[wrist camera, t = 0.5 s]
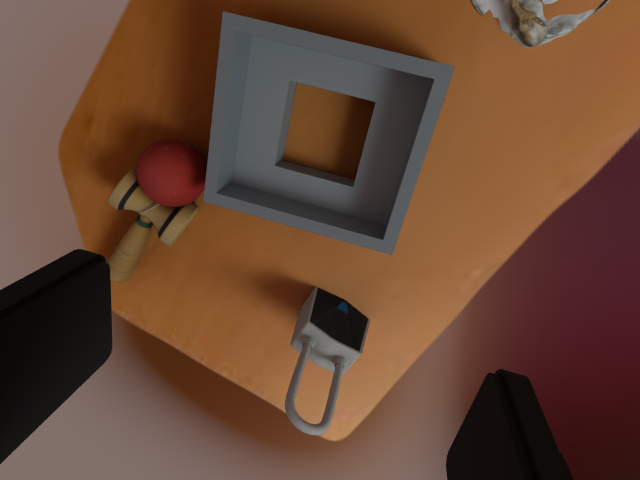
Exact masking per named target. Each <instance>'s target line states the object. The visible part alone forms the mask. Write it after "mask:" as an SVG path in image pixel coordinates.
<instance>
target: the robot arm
mask: <svg viewBox="0 0 640 480" xmlns="http://www.w3.org/2000/svg"><path fill="white" fill-rule="evenodd" d="M111 351H112V318H111V279H110V266H109V264H108V263H106V260H105V258H104V257H103V256H102V255H100V254H96V253H93V252H89V251H85V250H82V249H77V250H74V251H72V252H70V253H68V254H66V255H65V256H63V257H61V258H59V259H57V260H55V261H53V262H52V263H50V264H48V265H46V266H44V267H42V268H40V269H39V270H37V271H35V272H33V273H31V274H29V275H27V276H26V277H24V278H22V279H20V280H18V281H16V282H14V283H13V284H11V285H9V286H7V287H5V288H3V289H1V290H0V464H1V463H2V462H3V461H4V460H5V459H6V458H7V457H8V456H9V455H10V454H11V453H12V452H13V451H14V450H15V449H16V448H17V447H18V446H19V445H20V444H21V443H22V442H23V441H24V440H26V438H28V437H29V435H31V434H32V433H33V432H34V431H35V430H36V429H37V428H38V427H39V426H40V425H41V424H42V423H43V422H44V421H45V420H46V419H47V418H48V417H49V416H50V415H51V414H52V413H53V412H54V411H55V410H56V409H57V408H58V407H59V406H61V404H62V403H64V402H65V401H66V400H67V399H68V398H69V397H70V396H71V395H72V394H73V393H74V392H75V391H76V390H77V389H78V388H79V387H80V386H81V385H82V384H83V383H84V382H85V381H86V380H87V379H88V378H89V377H90V376H91V375H92V374H93V373H94V372H96V370H98V369H99V367H101V366H102V365H103V364H104V363H105V362H106V360H107V359H108V358H109V356H110V354H111ZM446 470H447V479H448V480H573V478H572V475H571V473H570V471H569V468H568V466H567V463H566V461H565V459H564V458H563V456H562V454H561V453H560V452H559V450H558V448H557V445H556V443H555V440H554V438H553V435H552V433H551V431H550V428H549V426H548V423H547V421H546V419H545V416H544V414H543V411H542V409H541V407H540V404H539V402H538V399H537V397H536V395H535V392H534V390H533V387H532V385H531V383H530V381H529V379H528V377H526V376H524V375H520V374H516V373H513V372H510V371H506V370H503V369H499V370H497V371H496V373H495V374H493V373H488V374H487V376H486V377H485V379H484V381H483V383H482V385H481V387H480V389H479V392H478V393H477V395H476V397H475V399H474V401H473V403H472V405H471V407H470V409H469V411H468V413H467V415H466V417H465V419H464V422H463V423H462V425H461V427H460V429H459V431H458V433H457V435H456V437H455V439H454V442H453V444H452V445H451V448H450V449H449V452H448V455H447V461H446Z"/></svg>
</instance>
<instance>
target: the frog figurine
mask: <svg viewBox="0 0 640 480" xmlns="http://www.w3.org/2000/svg"><path fill="white" fill-rule="evenodd" d="M471 1H472V3H473V5H474V6H475V8H476V9H477V11H478V12H479V13H480V14H482V15H483V14H484V13H486V12H487V11H488V10H489V9H490V10H491V12H492V13H493V17H496V18H498V19H499V20H500V24H501V28H500V29H501V30H503V31H505V32H507V33H509V34H511V37H513V38H514V39H515V40H516V41H517V42H518V43H519V44H520V45H521V46H523V47H525V48H533V47H536V46H538V45H541V44H544V43H547V42H550V41H551V40H553V39H554V38H557V37H560V36H564V35H566V34H567V33H570V32H573V31H574V29H575V28H576V26H577V25H578V24H579V23H581V22H584V21H586V19H587V18H588V17H589V16H590V15H592V14H593V13H596V12H597V11H598V10H599V9H601V8H602V7H604V6H605V5H606V4H607V3H608V2H609V0H604V1H603V2H602V4H601V5H600V6H599V7H598V8H597V9H595V10H589V11H586V12H582V13H580V14H577V15H573V14H571V15H569V14H567V15H558V16H556V17H554V18H552V19H551V20H548V21H546V18H545V17H543V4H542V3H541V2H540V1H539V0H471ZM556 1H557V0H543V3H544V4H551V3H554V2H556Z"/></svg>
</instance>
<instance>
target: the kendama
mask: <svg viewBox="0 0 640 480" xmlns="http://www.w3.org/2000/svg"><path fill="white" fill-rule="evenodd" d="M206 172H207V168H206V164H205V162H204V160H203V158H202V157H201V155H200V154H199V153H198V152H197V151H196V150H195V149H194V148H193V147H192V145H188V144H186V143H184V142H182V141H178V140H171V139H167V140H160V141H157V142H155V143H153V144H151V145H150V146H148V147H147V148H146V149H145V150H144V151H143V153H142V154H141V155H140V157H139V159H138V162H137V167H136V168H133V169H132V170H130V171H129V172H128V173H127V174H126V175H125V176H124V177H123V178H122V179H121V180H120V181H119V182H118V184H117V185H116V187H115V188H114V190H113V191H112V193H111V195H110V197H109V199H108V203H109V204H110V205H111V206H112V207H113V208H115V209H116V210H133V211H136V212H138V213H139V214H140V215H139V216H138V217H137V219H136V220H135V221H134V222H133V224H132V225H131V226H130V227H129V229H128V230H127V231H126V233H125V234H124V236H123V237H122V239H121V240H120V242H119V243H118V245H117V247H116V248H115V250H114V251H113V253H112V254H111V256H110V257H109V259H108V260H107V261H106V263H108V264H109V266H110V279H111V281H112V282H116V283H121V282H125V281H127V280H129V279H130V278H131V276H132V273H133V271H134V268H135V266H136V263H137V261H138V259H139V257H140V255H141V253H142V251H143V249H144V247H145V244H146V242H147V240H148V237H149V234H150V231H151V228H152V225H153V224H154V226H155V228H156V230H157V232H158V235H159V240H160V241H161V242H162V243H164V244H166V245H167V246H171V245H173V243H174V242H175V241H176V240H177V239H178V237H179V236H180V235H181V233H182V232H183V231H184V229H185V228H186V227H187V225H188V224H189V222H190V221H191V220H192V219H193V217H194V216H195V214H196V213H197V211H198V210H199V207H198V206H196V205H195V204H194V203H193V202H192V201H194V200H195V199H196V198H197V197H198V196H199V195H200V194H201V193H202V191H203V189H204V187H205V182H206Z"/></svg>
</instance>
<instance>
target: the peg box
mask: <svg viewBox="0 0 640 480" xmlns="http://www.w3.org/2000/svg"><path fill="white" fill-rule="evenodd" d="M454 68H455V67H454V66H450V65H446V64H442V63H438V62H434V61H429V60H425V59H421V58H417V57H413V56H408V55H404V54H400V53H396V52H392V51H388V50H383V49H379V48H375V47H371V46H367V45H362V44H358V43H354V42H350V41H346V40H342V39H337V38H333V37H329V36H325V35H321V34H317V33H312V32H308V31H304V30H300V29H296V28H291V27H287V26H283V25H279V24H275V23H271V22H266V21H262V20H258V19H254V18H250V17H245V16H241V15H237V14H233V13H229V12H225V11H223V15H222V25H221V34H220V44H219V54H218V64H217V74H216V83H215V93H214V103H213V113H212V123H211V133H210V142H209V152H208V162H207V172H206V182H205V191H204V202H207V203H211V204H214V205H218V206H221V207H225V208H228V209H232V210H236V211H239V212H243V213H246V214H250V215H253V216H257V217H260V218H264V219H267V220H271V221H274V222H278V223H281V224H285V225H288V226H292V227H296V228H299V229H303V230H306V231H310V232H313V233H317V234H320V235H324V236H327V237H331V238H334V239H338V240H341V241H345V242H348V243H352V244H356V245H359V246H363V247H366V248H370V249H373V250H377V251H380V252H384V253H387V254H391V255H392V253H393V250H394V247H395V244H396V241H397V238H398V235H399V232H400V229H401V226H402V223H403V220H404V217H405V214H406V211H407V208H408V205H409V202H410V199H411V196H412V193H413V190H414V187H415V184H416V181H417V178H418V175H419V172H420V169H421V166H422V163H423V161H424V158H425V155H426V152H427V149H428V146H429V143H430V140H431V137H432V134H433V131H434V128H435V125H436V122H437V119H438V116H439V113H440V110H441V107H442V104H443V101H444V98H445V95H446V92H447V89H448V86H449V83H450V80H451V77H452V74H453V71H454ZM297 82H298V83H302V84H306V85H310V86H314V87H318V88H322V89H326V90H330V91H334V92H338V93H342V94H346V95H350V96H354V97H358V98H362V99H366V100H370V101H374V102H376V103H375V107H374V110H373V114H372V118H371V122H370V126H369V129H368V133H367V137H366V141H365V144H364V148H363V152H362V156H361V159H360V163H359V167H358V171H357V174H356V178H355V180H354V179H350V178H347V177H343V176H339V175H336V174H332V173H328V172H324V171H321V170H317V169H313V168H310V167H306V166H302V165H298V164H295V163H291V162H287V161H284V160H283V155H284V149H285V144H286V138H287V133H288V127H289V122H290V116H291V111H292V105H293V100H294V94H295V89H296V83H297Z"/></svg>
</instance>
